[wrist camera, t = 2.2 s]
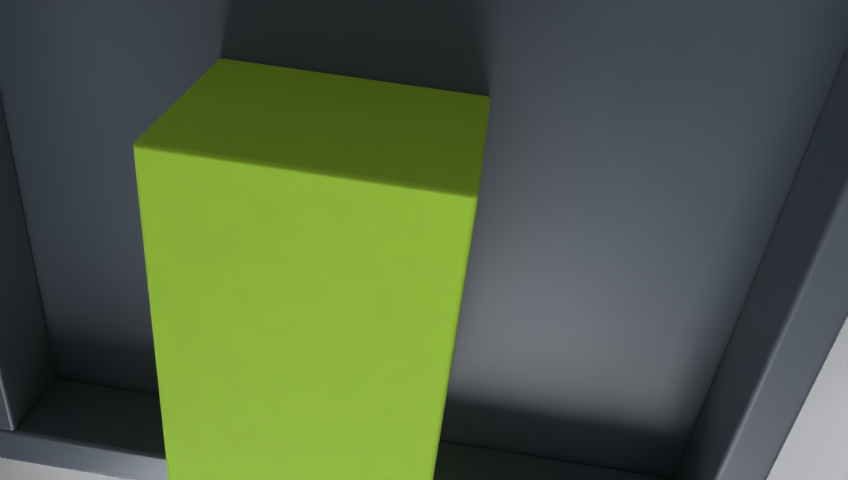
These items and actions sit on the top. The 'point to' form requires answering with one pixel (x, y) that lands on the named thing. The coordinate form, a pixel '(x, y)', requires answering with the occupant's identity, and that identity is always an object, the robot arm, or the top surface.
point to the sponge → (307, 270)
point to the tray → (493, 228)
